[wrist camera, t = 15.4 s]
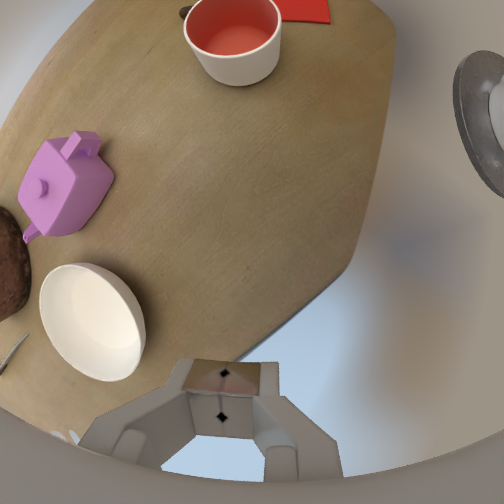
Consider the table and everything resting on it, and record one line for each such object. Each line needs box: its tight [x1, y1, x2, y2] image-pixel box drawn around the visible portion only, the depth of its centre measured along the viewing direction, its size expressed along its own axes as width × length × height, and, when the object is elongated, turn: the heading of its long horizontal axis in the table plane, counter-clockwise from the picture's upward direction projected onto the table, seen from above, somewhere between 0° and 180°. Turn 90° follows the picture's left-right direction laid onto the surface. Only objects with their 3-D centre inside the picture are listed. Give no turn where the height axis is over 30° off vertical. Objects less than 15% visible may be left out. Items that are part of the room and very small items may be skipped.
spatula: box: [179, 0, 331, 24], centre depth 28 cm, size 21×5×2 cm, turn 91°
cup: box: [184, 0, 281, 86], centre depth 26 cm, size 10×10×10 cm
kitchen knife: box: [0, 332, 29, 375], centre depth 45 cm, size 4×1×30 cm
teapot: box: [17, 131, 114, 244], centre depth 32 cm, size 18×10×10 cm, turn 136°
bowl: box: [39, 262, 146, 381], centre depth 37 cm, size 18×18×7 cm
